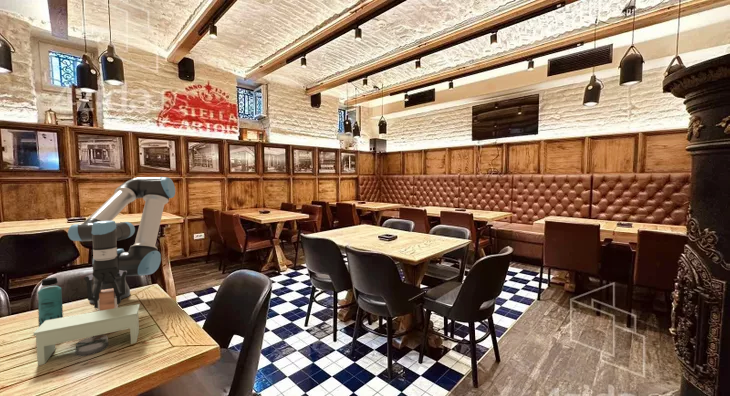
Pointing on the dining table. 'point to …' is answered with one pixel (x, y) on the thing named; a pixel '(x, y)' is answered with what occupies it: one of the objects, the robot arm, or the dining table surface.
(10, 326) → the dining table surface
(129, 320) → the shelf
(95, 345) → the puck
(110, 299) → the paddle
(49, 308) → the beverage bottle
